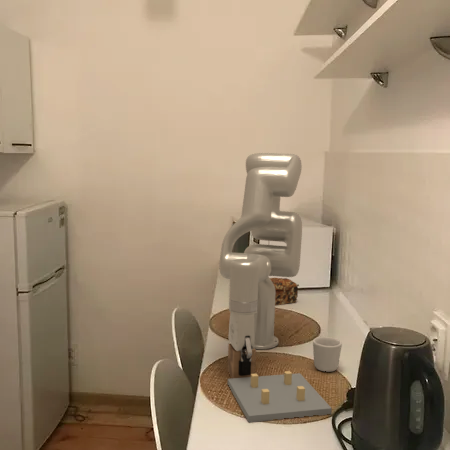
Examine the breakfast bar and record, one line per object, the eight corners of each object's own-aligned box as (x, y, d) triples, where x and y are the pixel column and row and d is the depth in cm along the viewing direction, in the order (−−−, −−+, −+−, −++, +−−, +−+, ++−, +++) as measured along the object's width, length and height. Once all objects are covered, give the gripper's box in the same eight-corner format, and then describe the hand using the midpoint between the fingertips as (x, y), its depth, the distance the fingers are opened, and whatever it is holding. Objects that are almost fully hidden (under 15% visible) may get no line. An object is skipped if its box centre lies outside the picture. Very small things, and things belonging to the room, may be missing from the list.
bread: (258, 308, 207) (258, 283, 206) (245, 301, 216) (246, 277, 215) (298, 303, 215) (299, 279, 213) (284, 297, 224) (285, 273, 223)
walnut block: (227, 371, 146) (228, 343, 145) (248, 369, 148) (249, 342, 146) (233, 380, 140) (233, 351, 139) (254, 378, 142) (255, 350, 141)
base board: (227, 384, 138) (228, 367, 137) (299, 378, 143) (300, 362, 142) (248, 422, 119) (249, 403, 118) (331, 414, 123) (332, 396, 123)
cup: (325, 358, 158) (326, 332, 157) (349, 365, 153) (351, 338, 152) (306, 368, 149) (307, 341, 148) (331, 376, 144) (333, 348, 143)
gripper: (222, 297, 149) (220, 358, 151) (237, 315, 132) (235, 384, 135) (247, 296, 150) (245, 357, 153) (266, 314, 134) (264, 382, 136)
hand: (241, 369), depth 144 cm, fingers closed on walnut block, 6 cm apart
